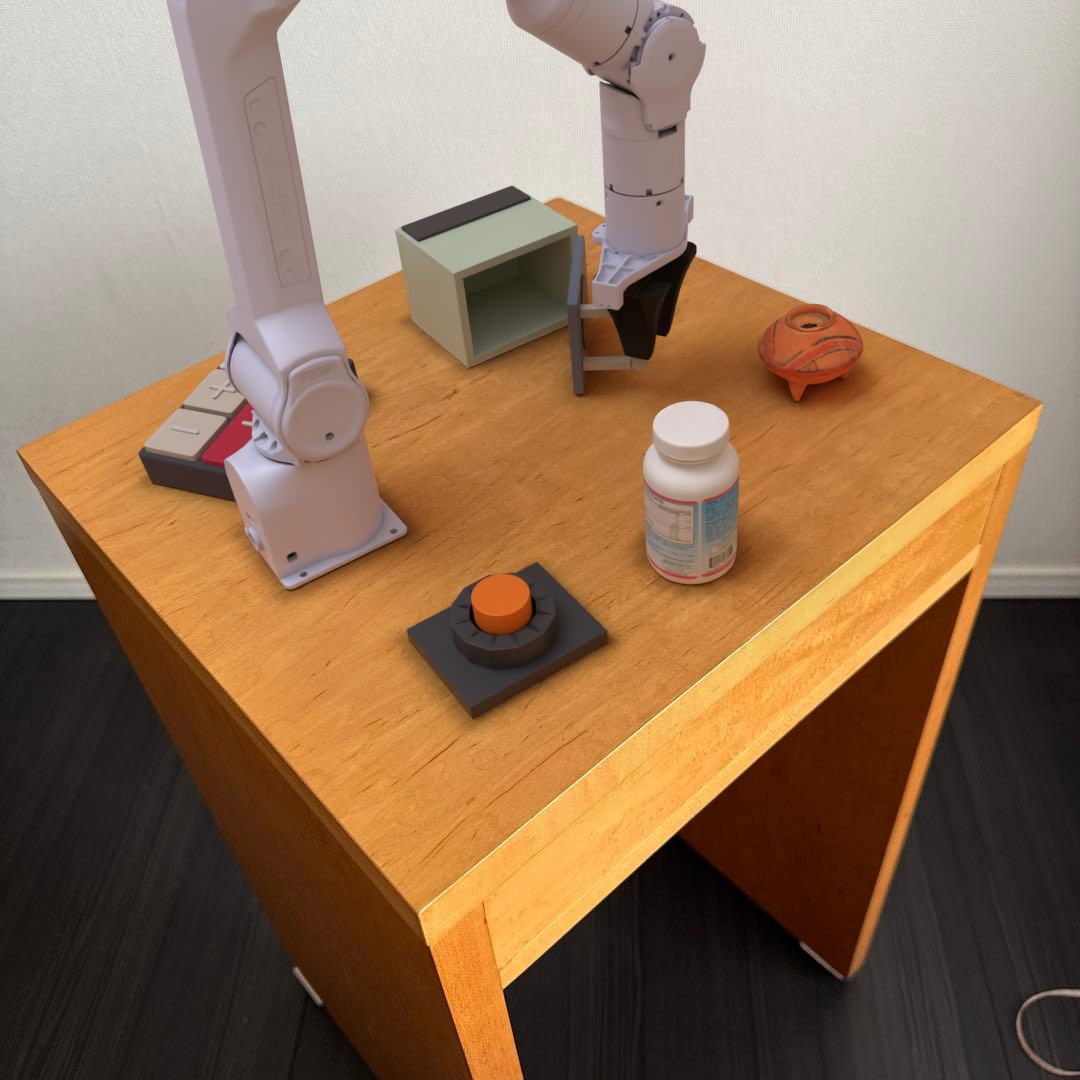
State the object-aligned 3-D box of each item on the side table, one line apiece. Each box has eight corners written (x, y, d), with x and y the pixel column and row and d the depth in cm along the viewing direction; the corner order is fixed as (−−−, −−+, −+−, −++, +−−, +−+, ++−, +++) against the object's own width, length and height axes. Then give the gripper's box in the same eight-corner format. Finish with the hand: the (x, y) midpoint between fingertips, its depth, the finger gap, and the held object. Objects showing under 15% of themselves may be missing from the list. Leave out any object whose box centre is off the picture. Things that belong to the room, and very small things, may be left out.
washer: (468, 368, 95) (452, 269, 88) (411, 321, 101) (393, 225, 95) (584, 318, 99) (577, 220, 93) (522, 275, 106) (512, 181, 99)
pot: (856, 415, 85) (843, 339, 81) (757, 417, 89) (739, 345, 85) (877, 355, 90) (866, 281, 86) (782, 360, 94) (767, 289, 90)
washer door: (648, 392, 89) (646, 301, 84) (573, 394, 90) (566, 304, 84) (649, 319, 97) (647, 232, 92) (580, 321, 98) (574, 235, 92)
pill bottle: (721, 519, 78) (725, 386, 71) (747, 579, 74) (755, 443, 66) (636, 534, 78) (631, 401, 70) (657, 595, 73) (654, 460, 66)
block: (472, 720, 67) (466, 687, 65) (409, 641, 72) (401, 609, 70) (608, 643, 70) (606, 610, 68) (538, 573, 76) (534, 541, 74)
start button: (494, 644, 68) (490, 624, 67) (463, 610, 70) (460, 590, 69) (543, 617, 69) (541, 597, 68) (512, 585, 71) (509, 565, 70)
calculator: (131, 446, 84) (238, 332, 94) (151, 488, 87) (253, 373, 97) (254, 472, 81) (353, 350, 90) (270, 515, 84) (364, 393, 93)
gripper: (632, 131, 85) (636, 290, 94) (547, 216, 76) (561, 383, 85) (721, 142, 83) (716, 304, 92) (643, 231, 73) (647, 402, 82)
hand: (647, 343), depth 88 cm, fingers open, 3 cm apart
